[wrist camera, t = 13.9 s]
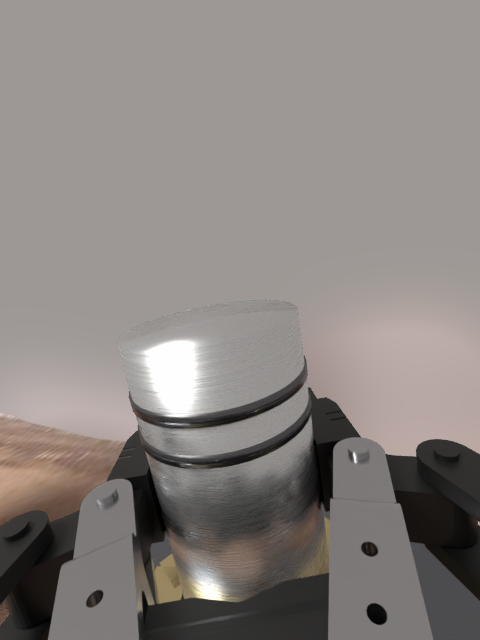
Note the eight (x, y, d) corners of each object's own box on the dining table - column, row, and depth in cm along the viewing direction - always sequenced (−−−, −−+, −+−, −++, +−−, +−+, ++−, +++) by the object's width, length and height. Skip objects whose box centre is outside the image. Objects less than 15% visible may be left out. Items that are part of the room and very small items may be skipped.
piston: (185, 743, 9) (71, 363, 7) (217, 574, 14) (157, 312, 11) (358, 758, 9) (307, 335, 6) (331, 574, 13) (295, 293, 11)
